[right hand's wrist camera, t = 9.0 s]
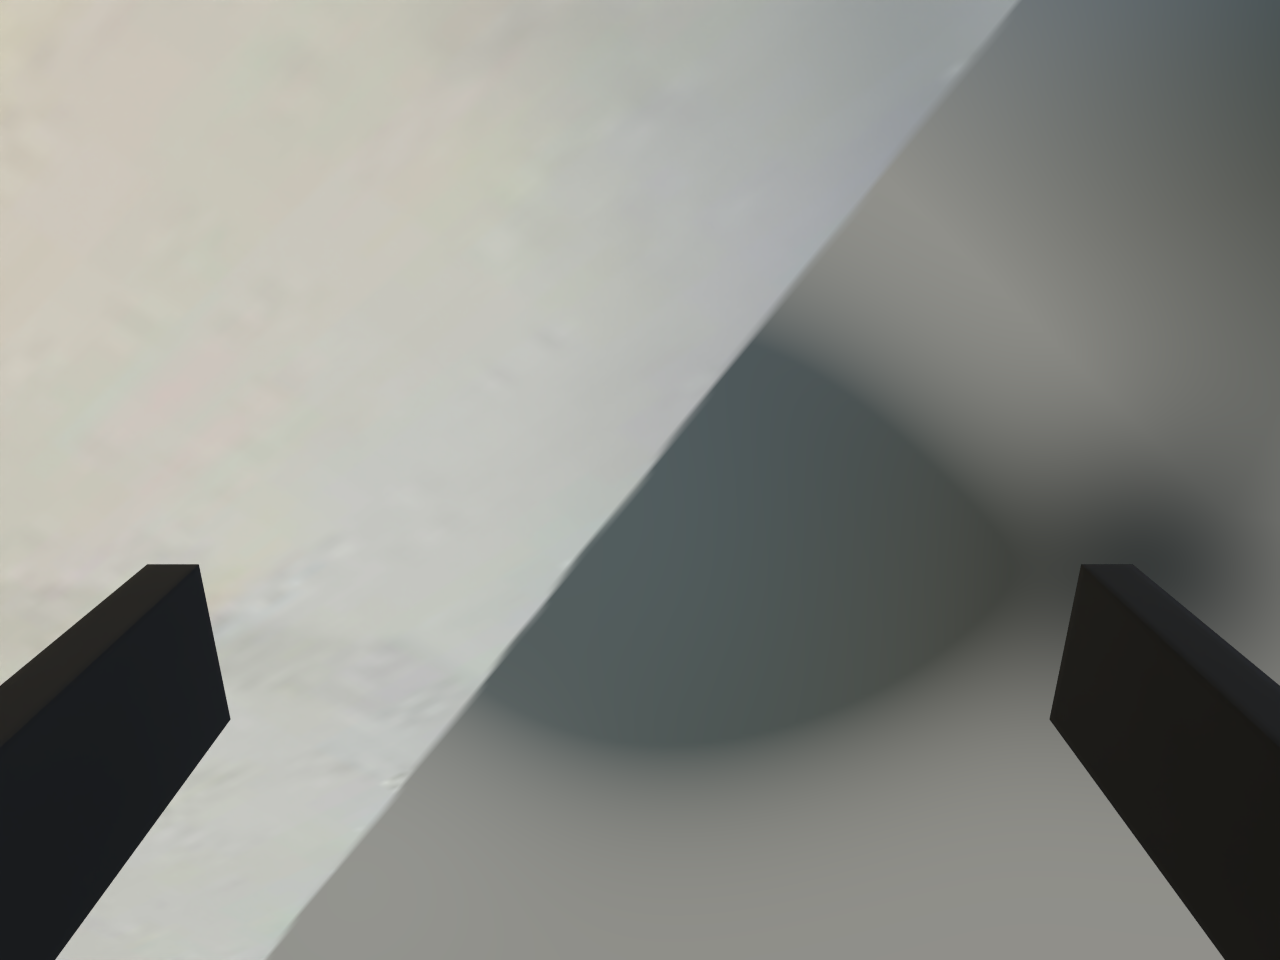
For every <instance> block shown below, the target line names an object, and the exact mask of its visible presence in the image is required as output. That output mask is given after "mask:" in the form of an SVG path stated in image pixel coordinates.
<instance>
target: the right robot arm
mask: <svg viewBox="0 0 1280 960" xmlns="http://www.w3.org/2000/svg"><path fill="white" fill-rule="evenodd" d="M229 721H230V715H229V710H228V705H227V700H226V695H225V690H224V686H223V681H222V676H221V671H220V666H219V661H218V656H217V651H216V646H215V641H214V637H213V632H212V627H211V622H210V617H209V612H208V607H207V602H206V597H205V593H204V588H203V583H202V578H201V573H200V568H199V564H147V565H146V566H145V567H144V568H142V569H141V570H140V571H139V572H138V573H136V574H135V575H134V576H133V577H131V578H130V579H129V580H128V581H127V582H125V583H124V584H123V585H122V586H121V587H119V588H118V589H117V590H116V591H115V592H113V593H112V594H111V595H110V596H108V597H107V598H106V599H105V600H104V601H102V602H101V603H100V604H99V605H98V606H96V607H95V608H94V609H93V610H92V611H90V612H89V613H88V614H87V615H85V616H84V617H83V618H82V619H81V620H79V621H78V622H77V623H76V624H75V625H73V626H72V627H71V628H70V629H68V630H67V631H66V632H65V633H64V634H62V635H61V636H60V637H59V638H58V639H56V640H55V641H54V642H53V643H52V644H50V645H49V646H48V647H47V648H45V649H44V650H43V651H42V652H41V653H39V654H38V655H37V656H36V657H35V658H33V659H32V660H31V661H30V662H29V663H27V664H26V665H25V666H24V667H22V668H21V669H20V670H19V671H18V672H16V673H15V674H14V675H13V676H12V677H10V678H9V679H8V680H7V681H6V682H4V683H3V684H2V685H1V686H0V960H55V959H56V958H57V956H58V955H59V954H60V952H61V951H62V950H63V948H64V947H65V945H66V944H67V943H68V941H69V940H70V939H71V937H72V936H73V934H74V933H75V932H76V930H77V929H78V928H79V926H80V925H81V923H82V922H83V921H84V919H85V918H86V917H87V915H88V914H89V913H90V911H91V910H92V908H93V907H94V906H95V904H96V903H97V902H98V900H99V899H100V897H101V896H102V895H103V893H104V892H105V891H106V889H107V888H108V886H109V885H110V884H111V882H112V881H113V880H114V878H115V877H116V876H117V874H118V873H119V871H120V870H121V869H122V867H123V866H124V865H125V863H126V862H127V860H128V859H129V858H130V856H131V855H132V854H133V852H134V851H135V849H136V848H137V847H138V845H139V844H140V843H141V841H142V840H143V838H144V837H145V836H146V834H147V833H148V832H149V830H150V829H151V828H152V826H153V825H154V823H155V822H156V821H157V819H158V818H159V817H160V815H161V814H162V812H163V811H164V810H165V808H166V807H167V806H168V804H169V803H170V801H171V800H172V799H173V797H174V796H175V795H176V793H177V792H178V790H179V789H180V788H181V786H182V785H183V784H184V782H185V781H186V780H187V778H188V777H189V775H190V774H191V773H192V771H193V770H194V769H195V767H196V766H197V764H198V763H199V762H200V760H201V759H202V758H203V756H204V755H205V753H206V752H207V751H208V749H209V748H210V747H211V745H212V744H213V743H214V741H215V740H216V738H217V737H218V736H219V734H220V733H221V732H222V730H223V729H224V727H225V726H226V725H227V723H228V722H229ZM1050 721H1051V722H1052V723H1053V725H1054V726H1055V727H1056V729H1057V730H1058V732H1059V733H1060V734H1061V736H1062V737H1063V738H1064V740H1065V741H1066V742H1067V744H1068V745H1069V747H1070V748H1071V749H1072V751H1073V752H1074V753H1075V755H1076V756H1077V758H1078V759H1079V760H1080V762H1081V763H1082V764H1083V766H1084V767H1085V768H1086V770H1087V771H1088V773H1089V774H1090V775H1091V777H1092V778H1093V779H1094V781H1095V782H1096V784H1097V785H1098V786H1099V788H1100V789H1101V790H1102V792H1103V793H1104V795H1105V796H1106V797H1107V799H1108V800H1109V801H1110V803H1111V804H1112V806H1113V807H1114V808H1115V810H1116V811H1117V812H1118V814H1119V815H1120V817H1121V818H1122V819H1123V821H1124V822H1125V823H1126V825H1127V826H1128V828H1129V829H1130V830H1131V832H1132V833H1133V834H1134V836H1135V837H1136V838H1137V840H1138V841H1139V843H1140V844H1141V845H1142V847H1143V848H1144V849H1145V851H1146V852H1147V854H1148V855H1149V856H1150V858H1151V859H1152V860H1153V862H1154V863H1155V865H1156V866H1157V867H1158V869H1159V870H1160V871H1161V873H1162V874H1163V876H1164V877H1165V878H1166V880H1167V881H1168V882H1169V884H1170V885H1171V886H1172V888H1173V889H1174V891H1175V892H1176V893H1177V895H1178V896H1179V897H1180V899H1181V900H1182V902H1183V903H1184V904H1185V906H1186V907H1187V908H1188V910H1189V911H1190V912H1191V914H1192V915H1193V917H1194V918H1195V919H1196V921H1197V922H1198V923H1199V925H1200V926H1201V928H1202V929H1203V930H1204V932H1205V933H1206V934H1207V936H1208V937H1209V939H1210V940H1211V941H1212V943H1213V944H1214V945H1215V947H1216V948H1217V950H1218V951H1219V952H1220V954H1221V955H1222V956H1223V958H1224V959H1225V960H1280V686H1279V685H1278V684H1277V683H1276V682H1274V681H1273V680H1272V679H1271V678H1270V677H1268V676H1267V675H1266V674H1265V673H1264V672H1262V671H1261V670H1260V669H1259V668H1257V667H1256V666H1255V665H1254V664H1253V663H1251V662H1250V661H1249V660H1248V659H1247V658H1245V657H1244V656H1243V655H1242V654H1241V653H1239V652H1238V651H1237V650H1236V649H1234V648H1233V647H1232V646H1231V645H1230V644H1228V643H1227V642H1226V641H1225V640H1224V639H1222V638H1221V637H1220V636H1219V635H1218V634H1216V633H1215V632H1214V631H1213V630H1211V629H1210V628H1209V627H1208V626H1207V625H1205V624H1204V623H1203V622H1202V621H1201V620H1199V619H1198V618H1197V617H1196V616H1195V615H1193V614H1192V613H1191V612H1190V611H1188V610H1187V609H1186V608H1185V607H1184V606H1182V605H1181V604H1180V603H1179V602H1178V601H1176V600H1175V599H1174V598H1173V597H1171V596H1170V595H1169V594H1168V593H1167V592H1165V591H1164V590H1163V589H1162V588H1161V587H1159V586H1158V585H1157V584H1156V583H1155V582H1153V581H1152V580H1151V579H1150V578H1149V577H1147V576H1146V575H1145V574H1144V573H1142V572H1141V571H1140V570H1139V569H1138V568H1136V567H1135V566H1134V565H1132V564H1082V565H1081V568H1080V573H1079V578H1078V583H1077V588H1076V593H1075V597H1074V602H1073V607H1072V612H1071V617H1070V622H1069V627H1068V632H1067V637H1066V641H1065V646H1064V651H1063V656H1062V661H1061V666H1060V671H1059V676H1058V681H1057V686H1056V690H1055V696H1054V700H1053V705H1052V710H1051V715H1050Z"/></svg>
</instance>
